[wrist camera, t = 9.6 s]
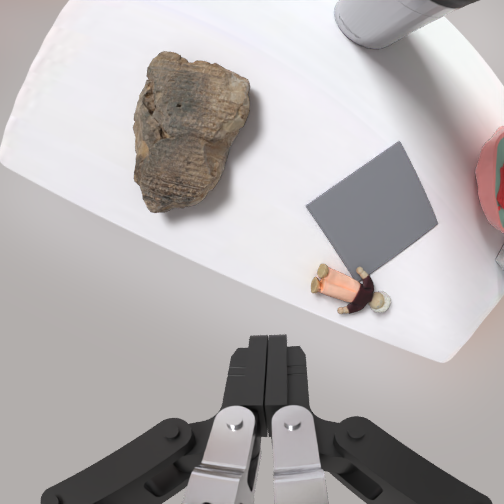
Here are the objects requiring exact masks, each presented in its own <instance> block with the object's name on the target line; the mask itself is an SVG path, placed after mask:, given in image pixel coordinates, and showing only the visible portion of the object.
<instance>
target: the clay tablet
mask: <svg viewBox="0 0 504 504" xmlns="http://www.w3.org/2000/svg"><path fill="white" fill-rule="evenodd" d="M147 77H148V80H147V81H146V84H145V87H144V88H143V90H142V92H141V93H140V95H139V100H138V102H137V107H136V111H135V113H134V121H135V123H134V126H133V130H134V134H135V137H136V138H135V151H136V154H137V155H136V165H135V171H134V181H135V182H136V183H137V184H138V185H139V186H140V188H141V191H142V194H143V200H144V202H145V204H146V206H147V208H148V209H149V210H150V212H153V213H158V212H163V213H164V212H167V211H169V210H171V209H173V208H184V207H188V206H193V205H196V204H198V203H199V202H201V201H202V200H203V199H205V197H206V195H207V194H208V192H209V191H212V190H213V188H214V187H215V186H216V184H217V183H218V181H219V179H220V177H221V174H222V172H223V171H224V167H225V163H226V160H227V157H228V153H229V148H230V146H231V144H232V142H233V140H234V139H235V138H236V136H237V135H238V133H239V129H240V128H242V127H243V126H244V124H245V122H246V119H247V117H248V114H249V111H250V110H249V106H250V100H249V97H248V92H249V89H250V83H249V81H248V79H246V78H244V77H241V76H239V75H238V74H236V73H234V72H232V71H230V70H227V69H225V68H223V67H222V66H220V65H218V64H216V63H214V64H210V63H208V62H206V61H195V62H194V63H188V61H187V60H186V59H185V58H182V57H181V55H179V54H177V53H174V52H167V51H163V52H161V53H159V54H158V56H157V57H155V58H154V59H153V60H152V61H151V63H150V65H149V67H148V69H147Z"/></svg>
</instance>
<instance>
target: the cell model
mask: <svg viewBox="0 0 504 504" xmlns="http://www.w3.org/2000/svg"><path fill="white" fill-rule="evenodd" d="M475 175H476V180H477V184H478V196H479V200H480V203H481V206H482V209H483V211H484V214H485V216H486V218H487V220H488V222H489V223H490V224H491V225H492V226H493V227H494V228H496V229H498V230H499V231H500V232H502V233H503V234H504V126H501V127H499V128H498V129H497V130H496V132H495V133H494V134H493V136H492V137H491V138H490V139H489V140H488V141H487V142H486V143H485V144H484V145H483V147H482V149H481V153H480V157H479V160H478V163H477V166H476V170H475Z"/></svg>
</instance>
